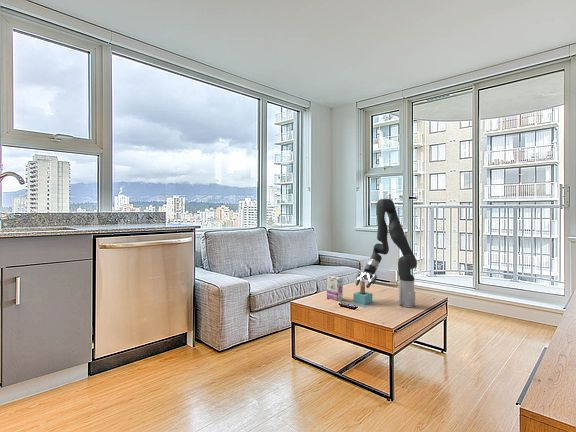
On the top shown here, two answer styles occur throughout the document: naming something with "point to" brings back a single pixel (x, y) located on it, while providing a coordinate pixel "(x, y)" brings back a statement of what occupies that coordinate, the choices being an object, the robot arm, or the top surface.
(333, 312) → the top surface
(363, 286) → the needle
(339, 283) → the candy bar box
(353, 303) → the board
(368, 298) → the teal block with hole
